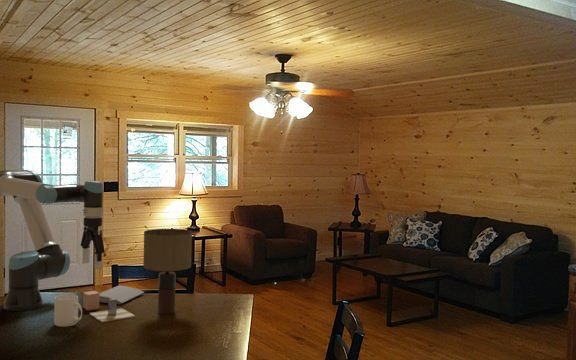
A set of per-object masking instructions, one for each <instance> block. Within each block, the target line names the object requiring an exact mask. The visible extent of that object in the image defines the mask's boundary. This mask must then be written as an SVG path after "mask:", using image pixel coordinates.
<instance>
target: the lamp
mask: <svg viewBox="0 0 576 360" xmlns="http://www.w3.org/2000/svg"><path fill="white" fill-rule="evenodd" d="M192 239H193V231H192V230H188V229H183V228H181V229H180V228H155V229H147V230H144V232H143V259H142V260H143V267H142V268H143V269H144V270H147V271H152V272H153V271H154V272H159V273H158V304H157V305H158V307H157V310H158V311H157V312H158V314H159V315H160V314H161V315H172V314H175V311H176V279H177V278H176V276H177V275H176V272H179V271H185V270H189V269H190V268H192V251H193V250H192V249H193V247H192V244H193V240H192Z"/></svg>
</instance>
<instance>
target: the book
mask: <svg viewBox="0 0 576 360" xmlns="http://www.w3.org/2000/svg"><path fill="white" fill-rule="evenodd" d="M99 293H100V298H99V303H105V304H106V303H107V304H108V299H111V298H115V299H117V305H122V304H124V303H126V302H129V301H130V300H132V299H135V298H137V297H139V296H141V295H142V294H145V291H143V290H141V289H138V288H135V287H130V286H127V285H121V284H120V285H117V286H114V287H111V288H109V289H107V290H104V291H103V292H99Z"/></svg>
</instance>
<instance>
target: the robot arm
mask: <svg viewBox="0 0 576 360" xmlns="http://www.w3.org/2000/svg"><path fill="white" fill-rule="evenodd" d="M0 196H2V197H4V196H5V197H8V196H12V197H13V201H14V202H15V203H18V205H19V207H20V210H21V212H22V214H23V218H24V221H25V224H26V226H27V229H28V232H29V235H30V238H31V241H32V244H33V246H34V250H28V251H21V252H18V253H15V254H13V255H11V256H10V257H9V260H8V292H7V294H6V296H5V299H4V302H3V309H4V310H5V311H9V312H25V311H31V310H32V311H33V310H36V309H39V308H41V307H43V297H42V294H41V291H40V289H39V281H42V280H45V279H46V280H47V279H50V278H51V279H53V278H58V277H59V276H63V275H65V274H66V273H67V272H68V270H69V268H70V265H71V257H70V254H69V252H68V251H66V249H65V250H64V249H62V248H61V246H60V244H59V243H57V242H55V239H54V236H53V234H52V231H51V229H50V225H49V223H48V220H47V217H46V215H45V212H44V209H43V206H42V204H45V205H47V204H48V205H49V204H57V203H58V204H60V203H74V202H77V203H83V210H82V212H83V226H84V227H83V233H82V236H81V241H80V247H81V248H82V259H81V260H82V264H85V265H86V264H90V249H91V247H90V245H91V242H92V244H93V246H94V247H93V248H94V251H95V252H94V270H100V269H102V263H103V253H105V245H104V239H103V231H102V229H99V227H102V225H103V217H102V216H103V211H104V210H103V200H104V199H103V197H104V186H103V182H102V181H99V180H98V181H96V180H86V181H85V182H84V184H78V183H70V184H69V183H68V184H48V183H43V180H42V176H40V174H39V173H38V172H36V171H34V170H27V169H23V170H6V169H5V170H0Z"/></svg>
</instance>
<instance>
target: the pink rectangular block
mask: <svg viewBox="0 0 576 360" xmlns="http://www.w3.org/2000/svg"><path fill="white" fill-rule="evenodd" d="M82 293H83V294H82V295H83V297H82V299H83V301H82V309H84V308H85V309H84V310H86V311H92V310H99V309H100V300H99V298H100V293H101V292H98V291H97V290H90V291H84V292H82Z"/></svg>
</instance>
